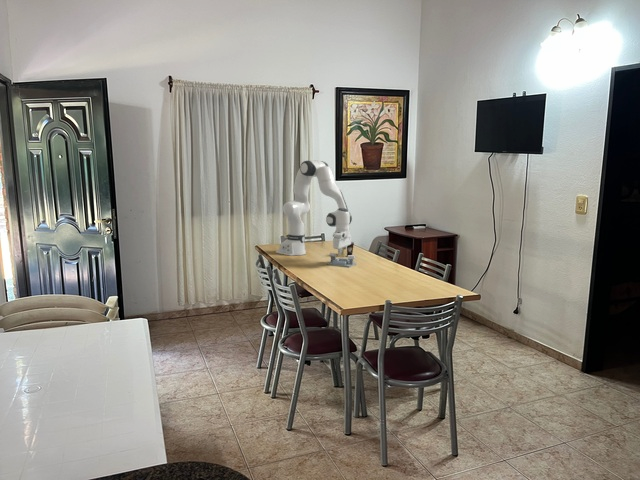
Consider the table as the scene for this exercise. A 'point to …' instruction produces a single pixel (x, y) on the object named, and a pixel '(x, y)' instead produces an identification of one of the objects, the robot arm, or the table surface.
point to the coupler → (343, 252)
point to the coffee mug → (350, 249)
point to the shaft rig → (342, 261)
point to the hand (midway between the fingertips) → (342, 253)
